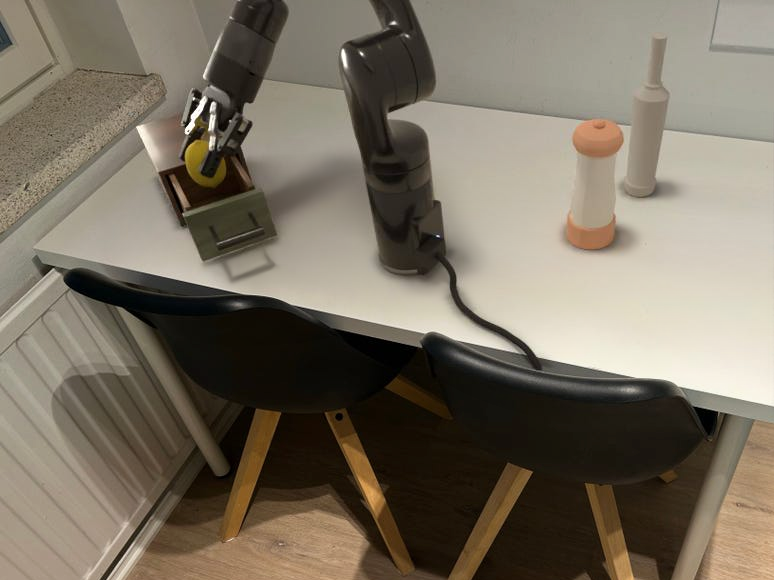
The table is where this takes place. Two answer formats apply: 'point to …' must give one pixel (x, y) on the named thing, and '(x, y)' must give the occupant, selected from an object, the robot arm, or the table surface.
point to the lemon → (194, 161)
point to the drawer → (224, 211)
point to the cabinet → (172, 153)
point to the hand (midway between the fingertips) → (195, 168)
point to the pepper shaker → (594, 184)
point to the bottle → (647, 125)
